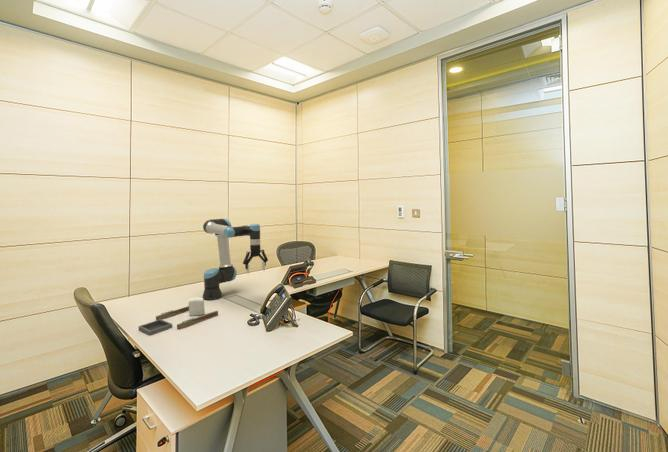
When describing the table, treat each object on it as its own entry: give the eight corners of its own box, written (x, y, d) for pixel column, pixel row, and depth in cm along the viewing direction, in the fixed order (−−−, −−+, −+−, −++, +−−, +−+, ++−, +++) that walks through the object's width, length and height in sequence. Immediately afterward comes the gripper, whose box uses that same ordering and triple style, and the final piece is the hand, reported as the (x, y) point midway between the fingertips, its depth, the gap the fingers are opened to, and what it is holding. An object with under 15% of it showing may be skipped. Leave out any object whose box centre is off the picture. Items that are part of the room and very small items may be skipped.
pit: (138, 330, 204) (138, 326, 204) (160, 322, 216) (160, 319, 215) (150, 335, 196) (149, 331, 196) (172, 327, 208) (172, 323, 208)
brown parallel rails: (155, 320, 220) (155, 315, 219) (195, 307, 244) (195, 303, 244) (178, 329, 204) (178, 324, 204) (218, 315, 229) (218, 310, 228)
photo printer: (188, 316, 227) (187, 299, 226) (190, 314, 231) (189, 297, 230) (203, 315, 229) (203, 298, 228) (205, 313, 233) (204, 296, 232)
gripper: (242, 246, 234) (243, 275, 236) (272, 243, 251) (272, 269, 253) (237, 245, 239) (238, 273, 242) (267, 242, 256) (267, 268, 259)
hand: (255, 271), depth 247 cm, fingers open, 13 cm apart
